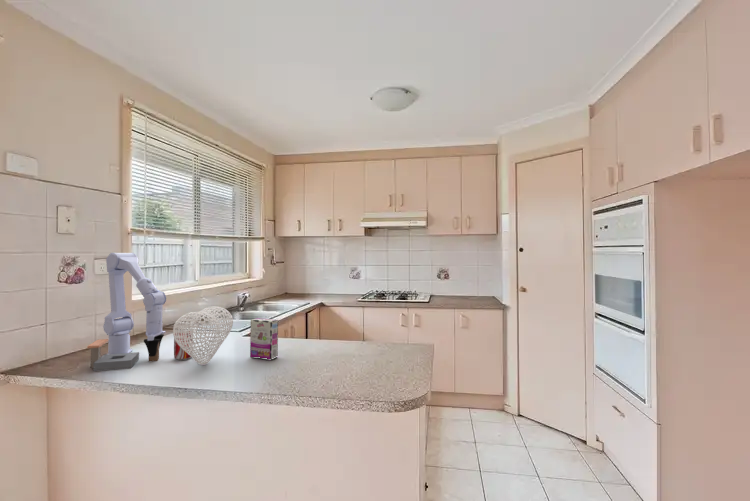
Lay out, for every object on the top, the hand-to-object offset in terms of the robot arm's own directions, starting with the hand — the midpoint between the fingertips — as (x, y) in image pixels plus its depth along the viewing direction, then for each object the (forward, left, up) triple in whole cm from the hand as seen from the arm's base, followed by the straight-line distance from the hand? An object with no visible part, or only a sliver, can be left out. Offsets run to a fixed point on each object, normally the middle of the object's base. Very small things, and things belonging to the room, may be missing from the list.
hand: (153, 354), depth 153 cm
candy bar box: (+10, +43, -3) cm, 44 cm away
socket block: (+3, -13, -2) cm, 14 cm away
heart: (+13, +20, -3) cm, 24 cm away
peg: (0, 0, -2) cm, 2 cm away
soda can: (+1, +11, -3) cm, 11 cm away
